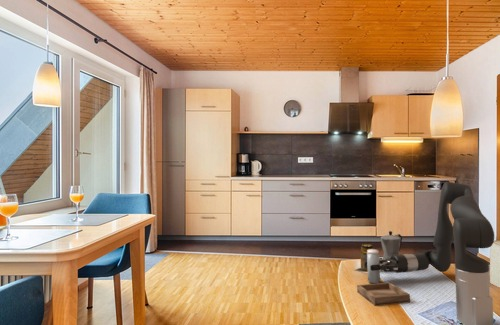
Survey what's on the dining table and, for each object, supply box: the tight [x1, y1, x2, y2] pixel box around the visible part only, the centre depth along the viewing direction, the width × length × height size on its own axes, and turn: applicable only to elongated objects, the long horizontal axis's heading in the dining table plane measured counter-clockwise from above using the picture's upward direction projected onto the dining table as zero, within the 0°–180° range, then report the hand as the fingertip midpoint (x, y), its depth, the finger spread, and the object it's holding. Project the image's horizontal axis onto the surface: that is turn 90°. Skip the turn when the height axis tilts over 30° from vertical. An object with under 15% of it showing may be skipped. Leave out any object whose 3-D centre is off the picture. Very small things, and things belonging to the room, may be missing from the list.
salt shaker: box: [367, 248, 381, 284], centre depth 156 cm, size 5×5×13 cm
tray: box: [356, 282, 411, 307], centre depth 139 cm, size 14×14×3 cm
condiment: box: [354, 243, 374, 275], centre depth 173 cm, size 7×8×12 cm
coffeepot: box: [380, 230, 403, 260], centre depth 176 cm, size 15×9×18 cm, turn 125°
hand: (367, 266), depth 155 cm, fingers closed on salt shaker, 5 cm apart
